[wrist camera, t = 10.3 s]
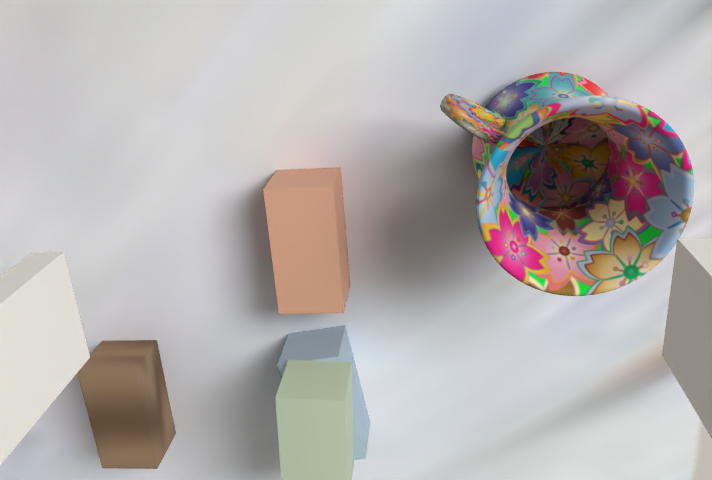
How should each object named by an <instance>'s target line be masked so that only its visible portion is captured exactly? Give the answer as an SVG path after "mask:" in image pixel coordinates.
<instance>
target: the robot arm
mask: <svg viewBox="0 0 712 480" xmlns="http://www.w3.org/2000/svg"><path fill="white" fill-rule="evenodd" d="M662 356H663V357H664V359H665V361H666V362H667V364H668V366H669V367H670V369H671V371H672V372H673V374H674V376H675V377H676V379H677V381H678V382H679V384H680V386H681V387H682V389H683V391H684V392H685V394H686V396H687V398H688V399H689V401H690V403H691V404H692V406H693V408H694V409H695V411H696V413H697V414H698V416H699V418H700V419H701V421H702V423H703V424H704V426H705V428H706V429H707V431H708V433H709V434H710V436H711V438H712V237H711V238H677V245H676V252H675V260H674V268H673V275H672V283H671V291H670V298H669V306H668V314H667V321H666V329H665V337H664V345H663V352H662ZM89 358H90V354H89V351H88V347H87V343H86V339H85V335H84V331H83V327H82V323H81V319H80V315H79V311H78V307H77V303H76V300H75V296H74V292H73V288H72V284H71V280H70V276H69V272H68V268H67V264H66V260H65V256H64V253H63V252H47V253H30V254H29V255H28V256H26V257H25V258H24V259H22V260H21V261H20V262H19V263H17V264H16V265H15V266H13V267H12V268H11V269H9V270H8V271H7V272H5V273H4V274H3V275H1V276H0V465H1V464H2V463H3V461H4V460H5V459H6V458H7V457H8V455H9V454H10V453H11V452H12V451H13V449H14V448H15V447H16V446H17V445H18V443H19V442H20V441H21V440H22V439H23V437H24V436H25V435H26V434H27V433H28V431H29V430H30V429H31V428H32V427H33V425H34V424H35V423H36V422H37V421H38V419H39V418H40V417H41V416H42V415H43V413H44V412H45V411H46V410H47V409H48V407H49V406H50V405H51V404H52V403H53V401H54V400H55V399H56V398H57V397H58V395H59V394H60V393H61V392H62V391H63V389H64V388H65V387H66V386H67V385H68V383H69V382H70V381H71V380H72V378H73V377H74V376H75V375H76V374H77V372H78V371H79V370H80V369H81V368H82V366H83V365H84V364H85V363H86V362H87V360H88V359H89Z"/></svg>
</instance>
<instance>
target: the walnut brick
mask: <svg viewBox="0 0 712 480" xmlns="http://www.w3.org/2000/svg"><path fill="white" fill-rule="evenodd" d="M77 373H78V377H79V381H80V384H81V388H82V392H83V396H84V400H85V403H86V407H87V411H88V415H89V419H90V423H91V426H92V430H93V434H94V438H95V442H96V445H97V449H98V453H99V457H100V461H101V465H102V468H145V469H157V468H158V466H159V464H160V462H161V460H162V459H163V457H164V455H165V453H166V451H167V449H168V447H169V445H170V443H171V441H172V440H173V438H174V436H175V434H176V432H175V427H174V422H173V417H172V412H171V407H170V402H169V398H168V393H167V388H166V383H165V378H164V373H163V368H162V364H161V359H160V354H159V349H158V344H157V340H138V341H102V342H101V343H100V344H99V346H98V347H97V348H96V349H95V350H94V352H93V353H92V354H91V355H90V358H89V359H88V360H87V362H86V363H85V364H84V365H83V366H82V368H81V369H80V370H79V371H78V372H77Z"/></svg>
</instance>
